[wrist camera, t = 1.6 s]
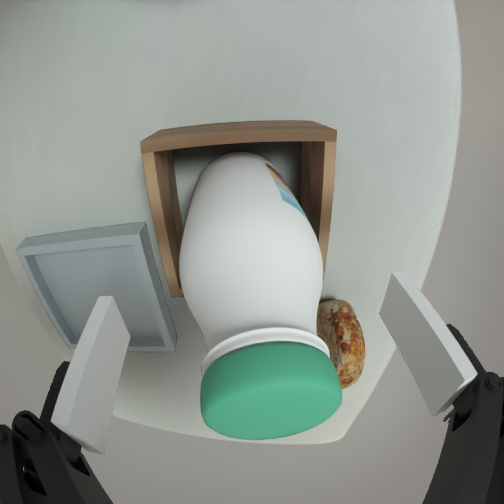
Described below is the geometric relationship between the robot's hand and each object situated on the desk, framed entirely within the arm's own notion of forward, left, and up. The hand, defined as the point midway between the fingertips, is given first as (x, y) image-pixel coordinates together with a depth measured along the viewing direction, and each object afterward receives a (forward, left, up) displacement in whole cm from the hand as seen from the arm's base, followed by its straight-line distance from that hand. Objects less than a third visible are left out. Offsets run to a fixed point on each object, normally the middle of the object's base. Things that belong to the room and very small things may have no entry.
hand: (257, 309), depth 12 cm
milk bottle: (0, 0, -15) cm, 15 cm away
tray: (+10, -17, -14) cm, 24 cm away
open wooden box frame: (0, 0, -14) cm, 14 cm away
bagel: (+16, +9, -15) cm, 24 cm away
